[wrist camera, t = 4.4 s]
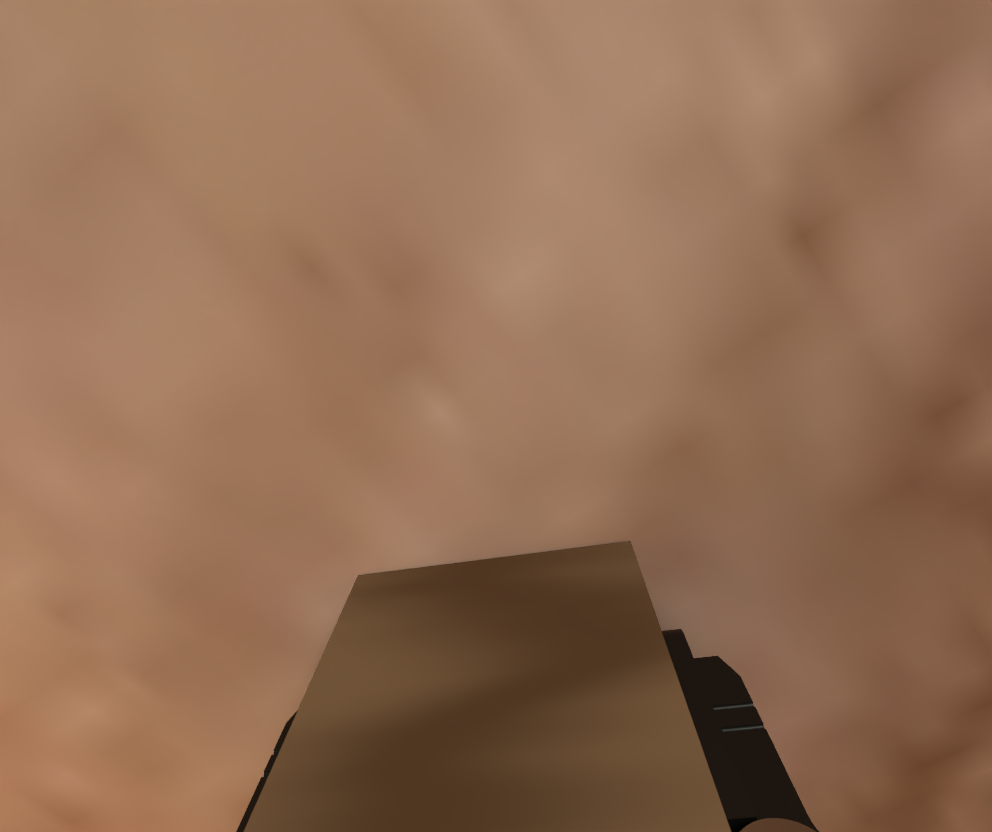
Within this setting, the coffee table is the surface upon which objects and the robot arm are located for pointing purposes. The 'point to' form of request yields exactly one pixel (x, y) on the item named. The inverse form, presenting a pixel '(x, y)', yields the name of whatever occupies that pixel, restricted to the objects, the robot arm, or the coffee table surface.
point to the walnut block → (495, 707)
